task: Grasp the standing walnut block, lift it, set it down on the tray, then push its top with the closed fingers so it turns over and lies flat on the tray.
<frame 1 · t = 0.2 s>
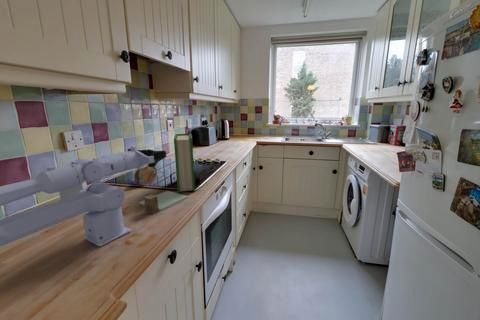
hand: (157, 153, 80), 21 cm above the countertop, tool horizontal, fingers open, 7 cm apart
tray: (164, 200, 92), on the countertop
skincare box: (75, 202, 92), on the countertop
hardback book: (186, 186, 109), on the countertop
tin: (146, 183, 115), on the countertop
walnut block: (152, 211, 83), on the countertop
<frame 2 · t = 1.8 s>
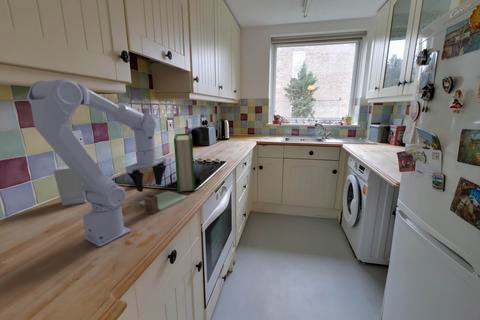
hand: (149, 187, 81), 9 cm above the countertop, tool pointing down, fingers open, 7 cm apart
nothing on the countertop moved.
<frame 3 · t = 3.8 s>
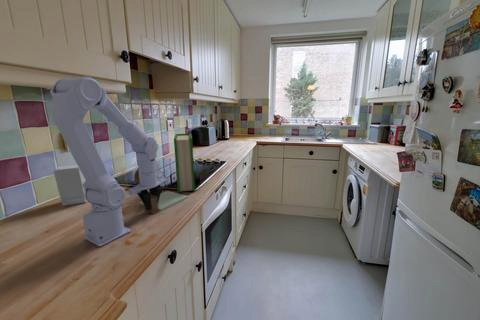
hand: (151, 207, 82), 2 cm above the countertop, tool pointing down, fingers closed on walnut block, 2 cm apart
walnut block: (152, 211, 83), on the countertop, touching gripper
everything else where it was.
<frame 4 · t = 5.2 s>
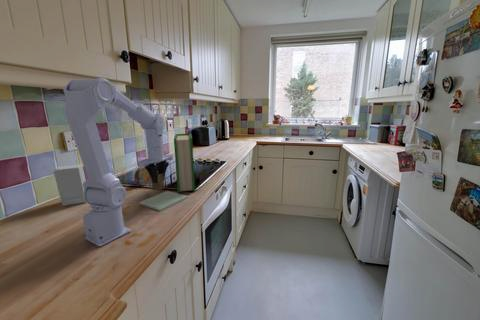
hand: (158, 181, 88), 9 cm above the countertop, tool pointing down, fingers closed on walnut block, 2 cm apart
walnut block: (158, 188, 89), point 6 cm above the countertop, touching gripper
everything else where it was.
when the fingers open (3 cm above the countertop, at t = 7.0 s): walnut block stays where it is, resting on tray.
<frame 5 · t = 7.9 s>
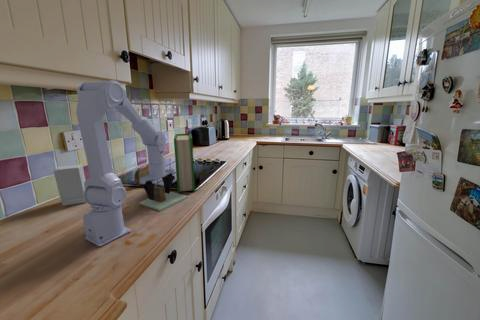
hand: (159, 196, 90), 3 cm above the countertop, tool pointing down, fingers open, 7 cm apart
walnut block: (159, 200, 90), point 1 cm above the countertop, touching tray
everything else where it was.
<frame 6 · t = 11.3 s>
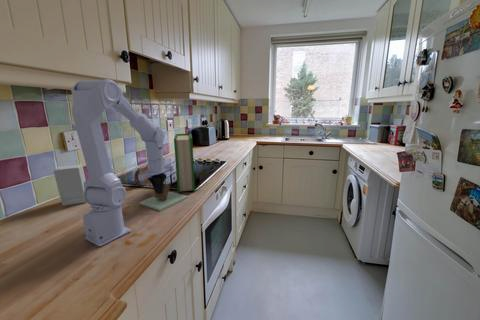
hand: (158, 192, 89), 4 cm above the countertop, tool pointing down, fingers closed
walnut block: (160, 198, 90), point 2 cm above the countertop, tilted 31°, touching tray
everything else where it was.
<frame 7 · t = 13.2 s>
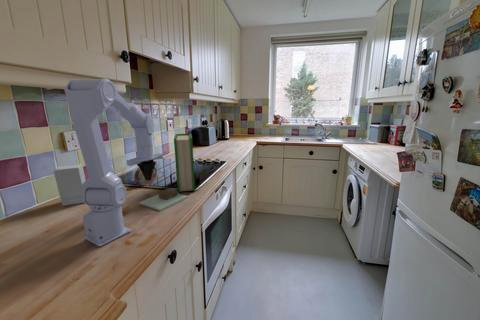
hand: (148, 179, 90), 9 cm above the countertop, tool pointing down, fingers closed
walnut block: (162, 196, 91), point 2 cm above the countertop, tilted 90°, touching tray
everything else where it was.
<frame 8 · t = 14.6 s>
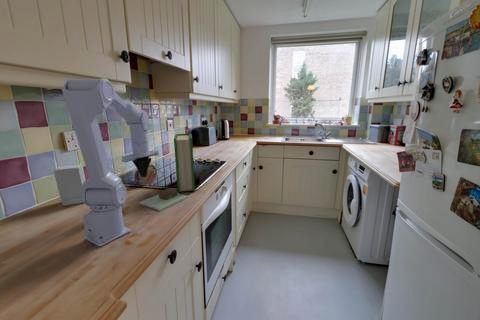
hand: (143, 176, 90), 10 cm above the countertop, tool pointing down, fingers closed
nothing on the countertop moved.
at the end: walnut block inside the target area on the tray (1.2 cm from its centre), point 2.1 cm above the tray's base; walnut block tilted 90°; the gripper is holding nothing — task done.
